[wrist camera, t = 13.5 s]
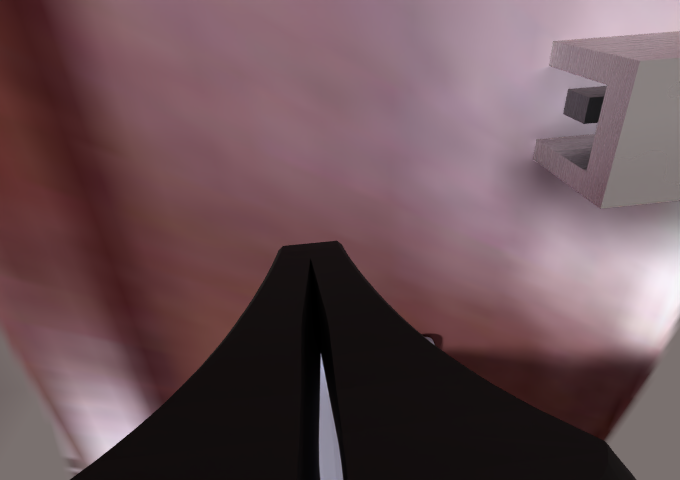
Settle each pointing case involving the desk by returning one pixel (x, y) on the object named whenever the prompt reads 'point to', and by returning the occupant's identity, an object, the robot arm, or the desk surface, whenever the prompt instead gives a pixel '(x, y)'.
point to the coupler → (585, 104)
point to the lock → (622, 121)
